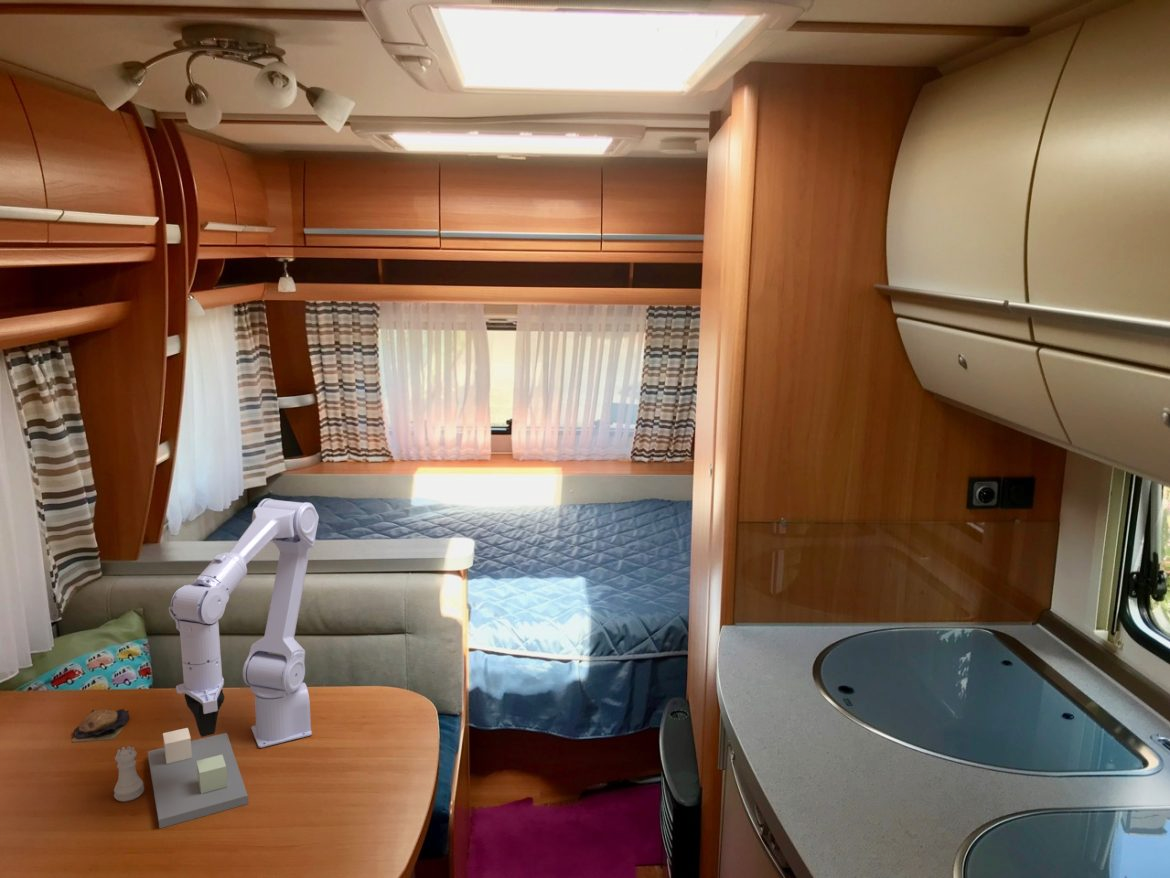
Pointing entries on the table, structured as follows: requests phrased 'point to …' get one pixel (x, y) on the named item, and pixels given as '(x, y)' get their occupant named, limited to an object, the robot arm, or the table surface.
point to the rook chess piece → (127, 776)
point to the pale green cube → (211, 773)
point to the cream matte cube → (177, 745)
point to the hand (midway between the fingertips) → (207, 733)
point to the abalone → (101, 726)
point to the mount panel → (194, 783)
